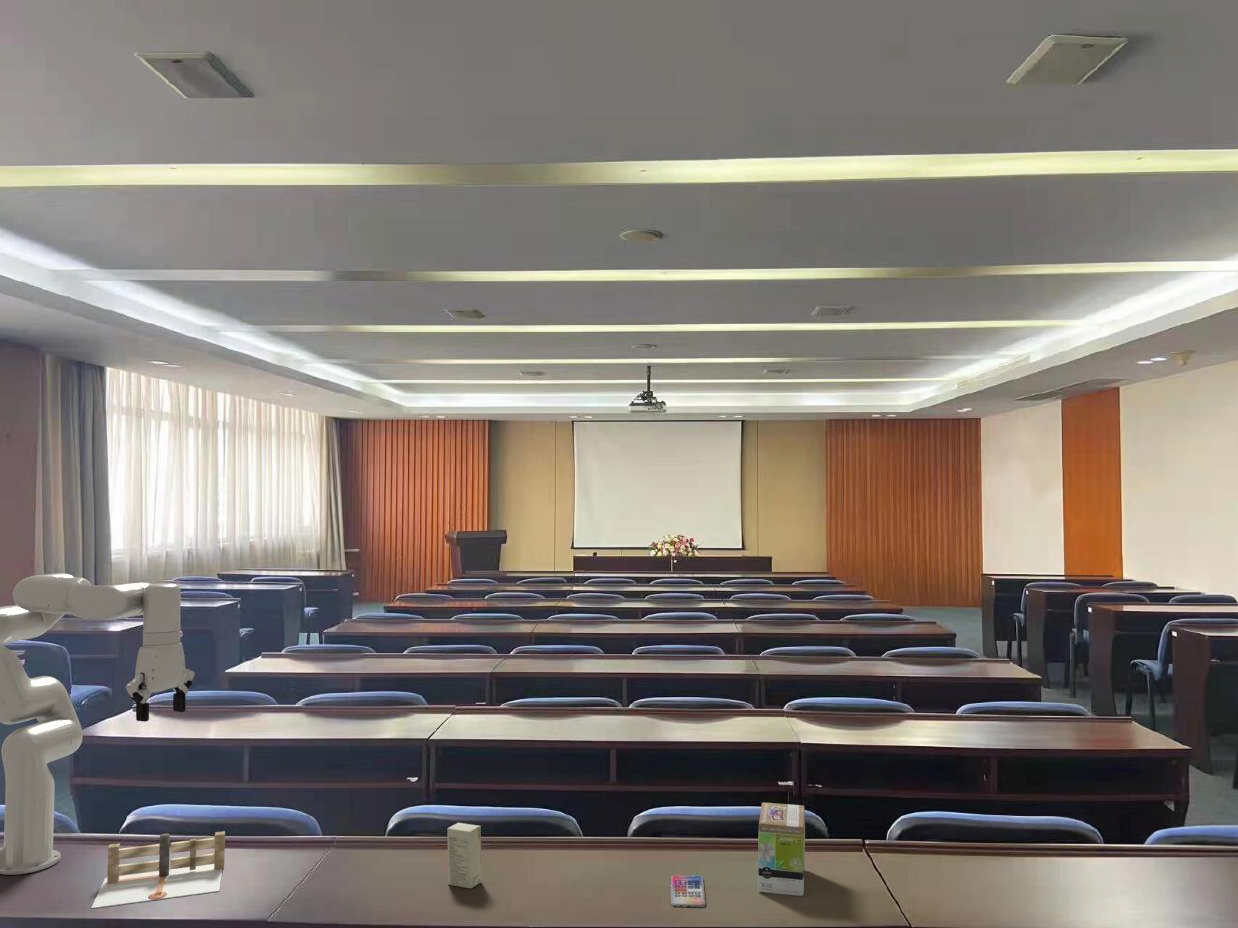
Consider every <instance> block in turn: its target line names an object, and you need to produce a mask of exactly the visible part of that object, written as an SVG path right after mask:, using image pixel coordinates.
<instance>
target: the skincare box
mask: <svg viewBox="0 0 1238 928" xmlns="http://www.w3.org/2000/svg"><path fill="white" fill-rule="evenodd" d="M481 827H482V826H481V825H476V824H472V823H471V824H470V823H466V822H465V823H464V822H457V823H455V824H453V825H451V826H449V827H447V833H446V834H447V835H446V836H447V884H448V885H449V886H455V887H460V888H466V889H472V888H474V887H476V886H477V885H478V884H480V883H481V882H482V836H481V834H482V833H481V831H482V828H481Z"/></svg>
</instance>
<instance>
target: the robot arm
mask: <svg viewBox="0 0 1238 928" xmlns="http://www.w3.org/2000/svg"><path fill="white" fill-rule="evenodd" d="M181 596H182V595H181V588H180V586H179V585H178V584H176V583H151V582H145V581H144V582H142V581H141V582H131V583H120V584H112V585H98V584H97V585H96V584H94V585H93V584H91V582H90V581H89V580H88V579H87V578H84V577H77V576H73V575H71V574H69V573H64V572H63V573H62V572H58V573H57V572H56V573H48V574H38V575H31V576H28V577H25V578H23V579H21V580H20V581H19V582H18V583H17V584H16V585H15V587H14V588H13V590H12V598H13V599H12V600H13V602H14V605H6V606H5V605H4V606H0V723H1V724H3V725H16V724H20V723H24V722H28V721H31V720H34V719H36V720H37V722H36V723H33V724H29V725H26V726H23V727H20V728H17V729H15V730H14V731H12V732H11V733H10V734H8V735H7V736H6V737H5V739H4V740H3V742H2V745H1V751H0V752H1V754H0V755H1V760H2V765H3V770H4V777H5V792H4V793H5V796H4V797H5V798H4V799H5V805H4V807H5V808H4V830H3V831H4V832H3V833H4V835H3V837H4V838H3V846H1V847H0V875H6V876H7V875H8V876H9V875H10V876H12V875H13V876H15V875H24V874H29V873H30V874H31V873H34V872H38V871H42V870H45V869H47V868H50V867H52V866H54V865H55V864H57V863H58V862H59V861H60V860H61V852H60V851H58V850H55V849H54V825H55V824H54V823H55V821H54V820H55V818H54V817H55V780H54V777H53V774H52V772H51V771H50V769H49V767H48V764H49V763H51V762H53V761H56V760H59V759H62V758H65V757H67V756H70V755H71V754H74V753H75V752H77V750H78V749H79V748H80V747H81V744H82V743H83V734H84V733H83V727H82V725H81V722H80V720H79V718H78V715H77V712H76V710H75V708H74V705H73V703H72V701H71V697H70V696H69V693H68V691H67V689H66V688H65V685H64V684H63V683H62V682H61V681H60V680H59V679H57V678H55V677H53V676H50V675H49V676H48V675H42V676H41V675H40V676H36V677H33V678H32V677H31V678H30V676H28V674H27V673H26V671H25V669H24V665H23V663H22V661H21V659H20V658H19V657H18V656H17V655H16V654H15V653H14V651H12V650H11V649H9V648H7V647H6V645H5V644H7V643H13V642H19V641H24V640H29V639H30V640H31V639H35V638H38V637H40V636H42V635H44V634H45V633H46V632H48V631H50V629H52V627H54V625H55V624H56V623H58V622H59V621H60V620H61V619H62V618H64V616H65V615H71V616H74V617H76V618H79V619H85V620H86V619H87V620H103V621H110V620H111V621H113V620H118V619H124V618H125V619H126V618H131V617H132V618H133V617H137V616H143V617H142V646H140V647H139V649H138V652H137V658H136V664H135V671H134V672H135V673H134V679H132V680H131V681H130V682H128V683H127V684H126V685H125V689H126V692H127V693H128V697H129V698H130V699H131V700H132V701H133V703H135V720H136V721H137V722H144V723H145V722H149V720H150V703H149V702H148V701H149V699H150V697H151V695H152V694H153V693H159V692H164V691H168V690H173V691H174V692H175V693H173V695H172V710H173V711H174V712H178V713H183V712H186V710H187V709H186V707H187V706H186V701H187V700H186V699H187V698H186V697H187V695H186V694H188V693H189V689H190V688H191V686H192V683H193V679H194V677H195V675H196V672H195V671H193V670H192V669H189V668H186V661H185V660H186V657H185V653H184V652H185V651H184V647H183V643H182V642H181V637H182V638H183V635H184V633H183V631H182V630H181Z"/></svg>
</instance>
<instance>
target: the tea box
mask: <svg viewBox="0 0 1238 928" xmlns="http://www.w3.org/2000/svg"><path fill="white" fill-rule="evenodd" d="M760 807H761V809H760V814H759V822H758V845H757V847H758V848H757V849H758V850H757V851H758V854H757V855H758V859H757V860H758V863H757V865H758V866H757V868H758V869H757V892H760V893H766V894H774V895H775V894H776V895H786V896H787V895H789V896H796V897H797V896H799V897H803V895H804V894H805V892H804V891H805V864H806V860H805V858H806V851H805V850H806V817H805V816H806V815H805V805H800V804H789V803H787V804H786V803H776V802H775V803H773V802H761V806H760Z"/></svg>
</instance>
